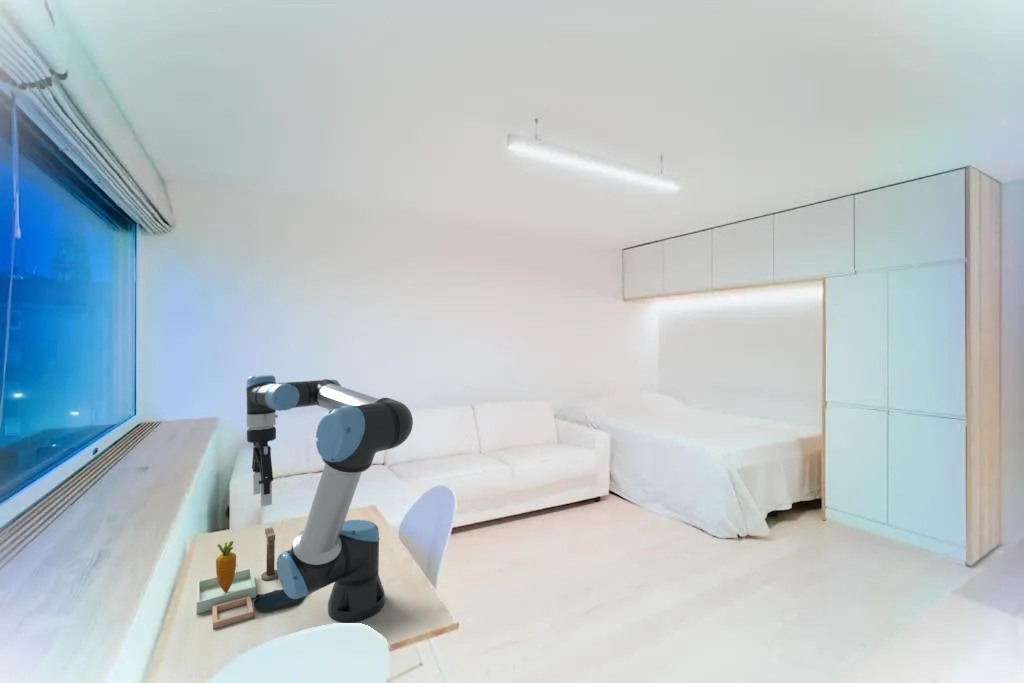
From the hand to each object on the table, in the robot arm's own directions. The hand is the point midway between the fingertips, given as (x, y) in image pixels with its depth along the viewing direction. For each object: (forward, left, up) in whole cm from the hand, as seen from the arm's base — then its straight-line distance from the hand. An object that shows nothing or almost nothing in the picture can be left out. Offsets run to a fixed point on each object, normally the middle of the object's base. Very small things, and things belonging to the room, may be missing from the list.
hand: (262, 499), depth 132 cm
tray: (+4, +9, -28) cm, 29 cm away
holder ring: (-8, +8, -28) cm, 30 cm away
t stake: (+9, -3, -28) cm, 29 cm away
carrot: (+4, +9, -27) cm, 29 cm away
